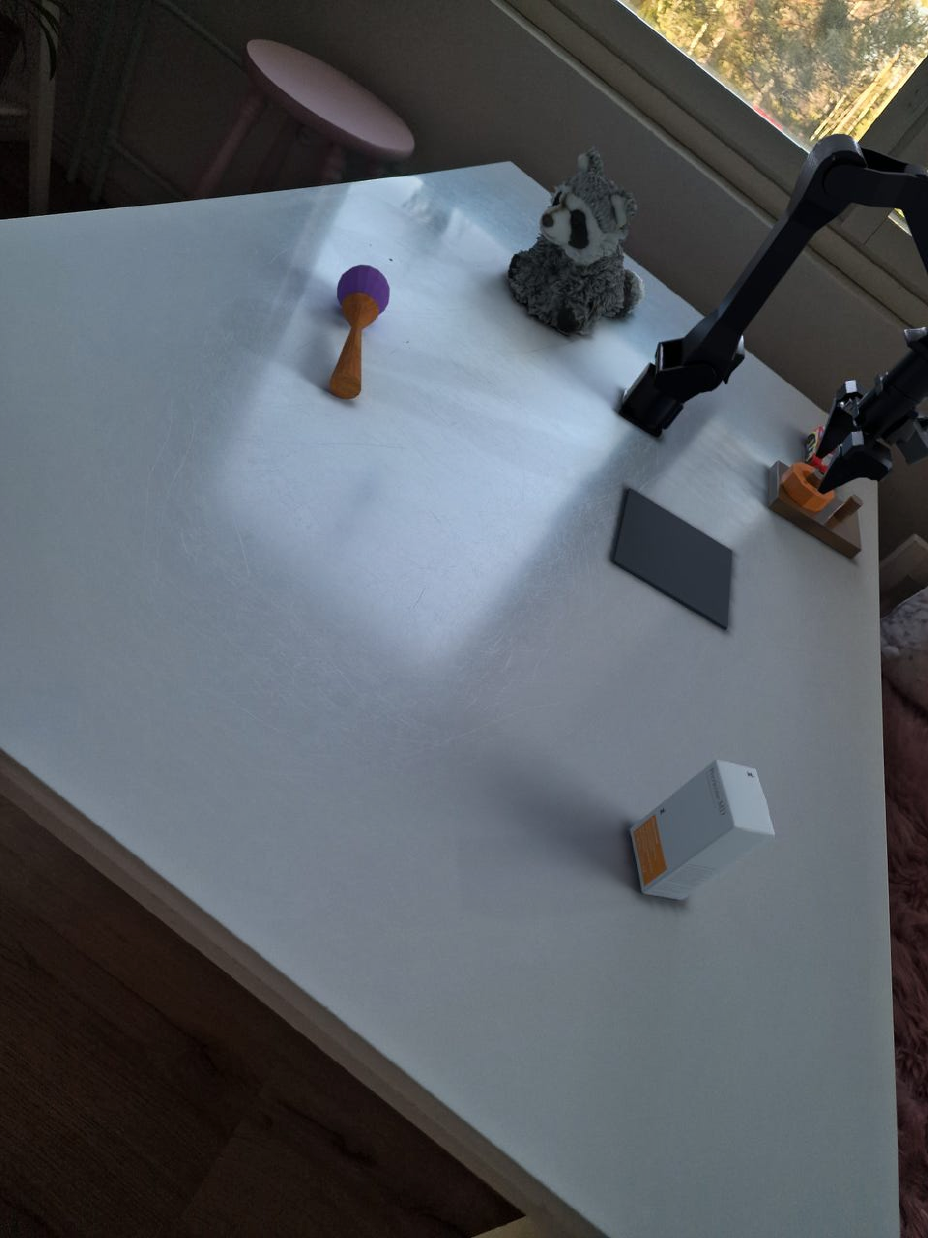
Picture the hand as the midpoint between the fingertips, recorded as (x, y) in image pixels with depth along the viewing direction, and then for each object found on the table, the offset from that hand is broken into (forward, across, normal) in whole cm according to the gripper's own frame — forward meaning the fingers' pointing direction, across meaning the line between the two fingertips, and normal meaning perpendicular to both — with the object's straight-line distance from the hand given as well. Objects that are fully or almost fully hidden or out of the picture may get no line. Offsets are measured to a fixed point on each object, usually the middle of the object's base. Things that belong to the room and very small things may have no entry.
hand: (818, 474), depth 134 cm
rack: (+6, 0, -3) cm, 6 cm away
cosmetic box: (+6, -71, +15) cm, 73 cm away
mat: (+6, -28, +17) cm, 33 cm away
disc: (+4, 0, 0) cm, 4 cm away
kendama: (+6, -26, +61) cm, 66 cm away
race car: (+6, +16, -5) cm, 18 cm away
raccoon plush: (+6, +17, +41) cm, 45 cm away
